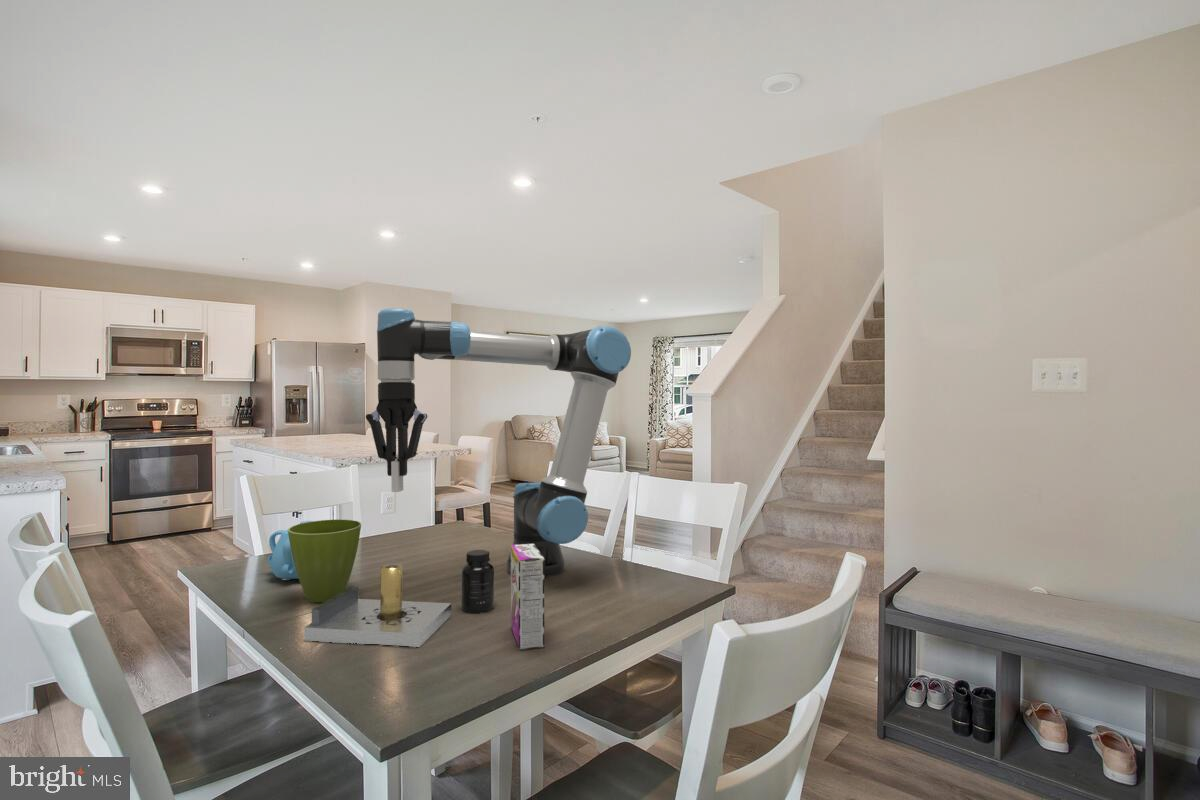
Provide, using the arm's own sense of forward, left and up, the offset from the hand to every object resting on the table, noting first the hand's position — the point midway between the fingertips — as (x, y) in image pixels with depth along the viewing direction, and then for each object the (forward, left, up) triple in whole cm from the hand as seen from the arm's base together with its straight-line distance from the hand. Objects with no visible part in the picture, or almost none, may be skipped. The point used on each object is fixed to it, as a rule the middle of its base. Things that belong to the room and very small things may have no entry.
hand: (397, 490), depth 127 cm
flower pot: (+18, -3, -25) cm, 31 cm away
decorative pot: (+32, -18, -25) cm, 45 cm away
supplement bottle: (-18, -1, -25) cm, 31 cm away
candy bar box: (-32, +13, -25) cm, 42 cm away
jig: (-3, +12, -25) cm, 28 cm away
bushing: (-5, +12, -25) cm, 28 cm away
